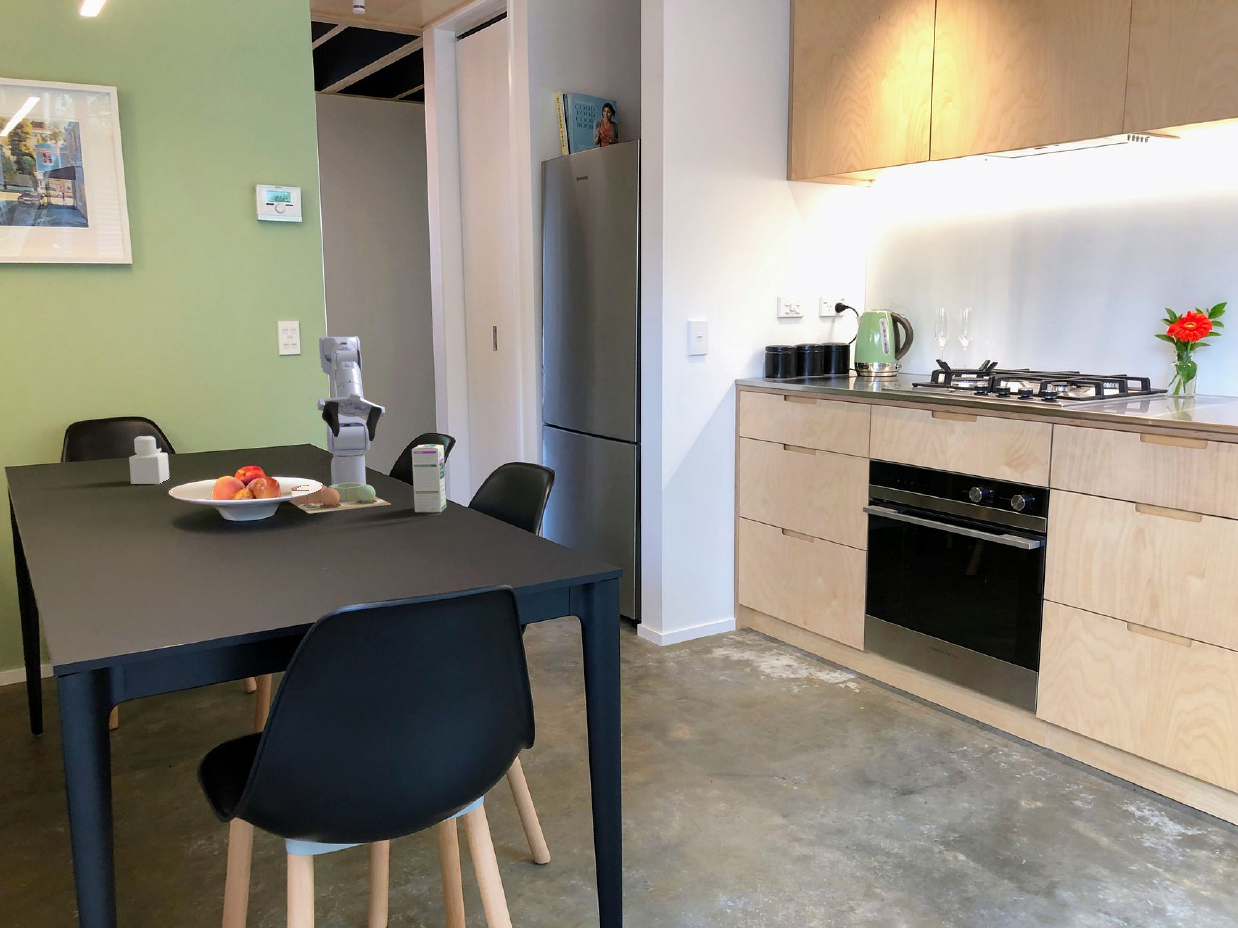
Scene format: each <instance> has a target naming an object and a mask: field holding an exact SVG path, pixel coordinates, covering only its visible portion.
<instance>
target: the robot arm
mask: <svg viewBox="0 0 1238 928" xmlns="http://www.w3.org/2000/svg"><path fill="white" fill-rule="evenodd" d="M318 340H319V341H318V342H319V344H318V346H319V348H318V349H319V359H320V365H321V367H320V368H322V372H323V373H324V374H326V375H327V376H330V377H329V378H330V380H331V382H332V385H333V392H334V393H333V395H334V397H329V398H322V397H319V398H318V400H317V401H318V402H317V404H316V405H317V411H322V413H321V419H322V420H323V421H324V422H325V423H326V446H327V451H328V452H329V454H332V458H331V461H330V473H331V485H334V484H340V483H362V484H364V485H367V481H366V456H365V455H366V452H367V453H368V452H369V451H370V449H371V442H374V438H375V436H376V429H377V424H378V422H379V420H380V419H384V417H385V415H386V408H385V406H382V405H378V404H375V403H373V402H371V401H368V400H366V399H365V398H364V391H363V390H364V389H363V382H362V375H361V374H362V370H363V368H362V367H363V366H362V365H363V364H362V363H363V362H362V361H363V360H362V354H361V345H360V344H361V343H360V338H359V337H358V336H357V335H355V336H324V335H322V336H320V337H319V339H318ZM364 416H367V417H366V419H367V420H366V419H364V418H362V417H364ZM331 485H329V486H327V488H330V486H331Z"/></svg>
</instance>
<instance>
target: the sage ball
mask: <svg viewBox="0 0 1238 928" xmlns="http://www.w3.org/2000/svg"><path fill="white" fill-rule="evenodd" d="M357 497H358V499H359V500H360V501H362V502H371V501H372V500H373V499H374V498H375V497H376V490H375V488H374V487H373V486H372V485H370V484H366V485H362V486H361V487H359V489H358V490H357Z"/></svg>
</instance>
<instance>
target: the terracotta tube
mask: <svg viewBox="0 0 1238 928" xmlns="http://www.w3.org/2000/svg"><path fill="white" fill-rule="evenodd" d="M309 485H310V484H303V485H296V486H293V487H290V488H291V489H290V491H291V490H292V491H309V490H297V488H299V487H301V486H309ZM320 485H321V486H322V488H321V489H320V490H318V491H316V492H314V493H313V494H308V495H306V496H303V497H298V498H296V499H292V498H291V499H292V502H293V503H296V504H312V503H321V498H320V496H321V493H322V492H323V491H324V490H325V489H327V488H328V486H326V485H324V484H320ZM293 503H292V504H293Z"/></svg>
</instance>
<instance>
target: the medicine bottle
mask: <svg viewBox="0 0 1238 928" xmlns="http://www.w3.org/2000/svg"><path fill="white" fill-rule="evenodd" d="M133 443H134V445H133V446H134V453H135V455H130V456H129V457H128V463H129V465H128V466H129V476H130V477H129V478H130V484H155V485H161V484H163V483H162V482H163V481H166V480H168V479H169V478H170V469H169V468H170V467H169V466H170V465H169V455H168V454H169V453H167V452H162V442H161V437H160V436H158V435H156V434H155V435H153V434H151V435H149V434H147V435H144V434H143V435H137V436H136V437H134V439H133ZM169 480H170V479H169ZM169 480H168V481H169ZM166 482H167V481H166ZM160 483H161V484H160Z"/></svg>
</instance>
